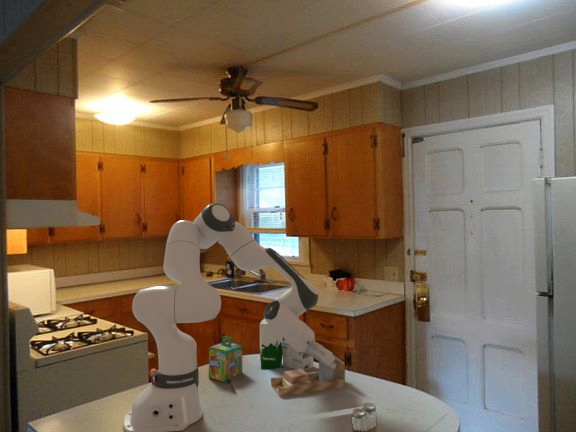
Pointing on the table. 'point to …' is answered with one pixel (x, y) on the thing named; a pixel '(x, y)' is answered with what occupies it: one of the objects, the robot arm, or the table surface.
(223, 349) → the chalk box
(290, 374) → the offcut top
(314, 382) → the rack
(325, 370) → the tall board
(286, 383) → the offcut low
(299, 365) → the light bulb box
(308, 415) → the table surface
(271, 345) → the milk carton
